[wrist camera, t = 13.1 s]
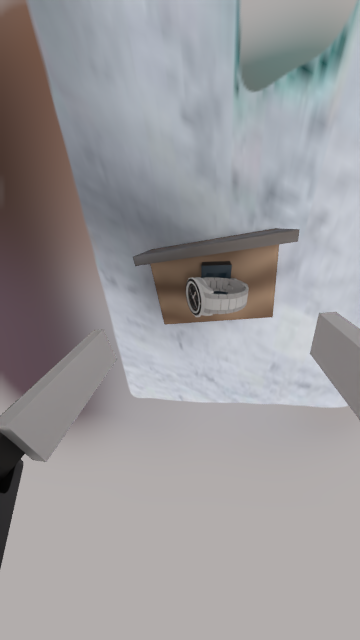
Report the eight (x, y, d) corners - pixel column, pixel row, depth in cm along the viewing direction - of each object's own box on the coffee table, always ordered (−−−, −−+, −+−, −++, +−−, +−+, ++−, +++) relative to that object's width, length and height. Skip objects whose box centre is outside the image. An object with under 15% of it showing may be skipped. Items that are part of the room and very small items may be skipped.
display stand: (150, 249, 30) (132, 256, 23) (275, 228, 26) (299, 229, 19) (166, 319, 36) (156, 341, 30) (269, 312, 32) (285, 335, 25)
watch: (190, 262, 28) (179, 281, 19) (241, 260, 27) (258, 280, 17) (191, 294, 31) (182, 325, 21) (237, 294, 29) (250, 328, 20)
